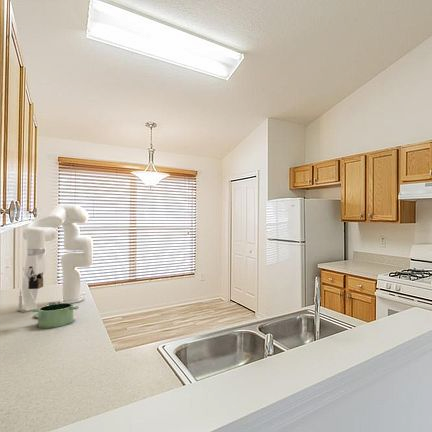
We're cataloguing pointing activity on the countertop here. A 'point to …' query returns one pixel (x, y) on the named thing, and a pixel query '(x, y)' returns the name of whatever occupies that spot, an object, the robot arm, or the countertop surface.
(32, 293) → the skyscraper
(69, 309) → the pot
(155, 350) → the countertop surface
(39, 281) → the block
